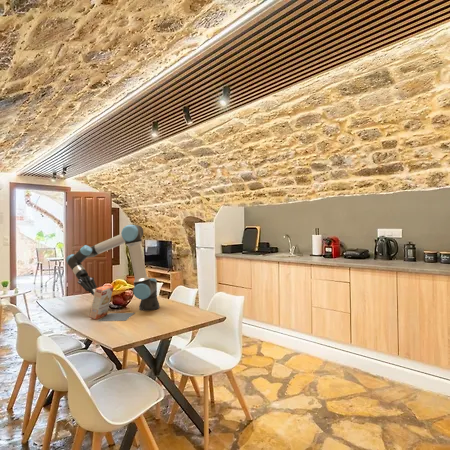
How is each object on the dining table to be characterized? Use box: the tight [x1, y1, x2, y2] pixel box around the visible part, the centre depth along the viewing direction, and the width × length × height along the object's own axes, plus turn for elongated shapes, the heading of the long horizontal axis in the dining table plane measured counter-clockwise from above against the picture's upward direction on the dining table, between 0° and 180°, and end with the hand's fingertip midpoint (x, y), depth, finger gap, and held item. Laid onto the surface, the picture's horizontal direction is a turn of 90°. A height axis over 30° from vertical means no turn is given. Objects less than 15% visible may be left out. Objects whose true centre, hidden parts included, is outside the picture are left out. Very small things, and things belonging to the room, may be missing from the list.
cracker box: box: [88, 284, 114, 320], centre depth 237 cm, size 14×6×21 cm, turn 168°
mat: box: [97, 312, 135, 322], centre depth 236 cm, size 19×20×1 cm
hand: (97, 297), depth 238 cm, fingers closed
